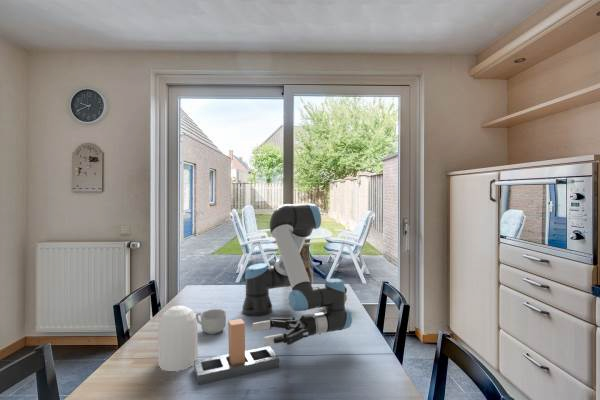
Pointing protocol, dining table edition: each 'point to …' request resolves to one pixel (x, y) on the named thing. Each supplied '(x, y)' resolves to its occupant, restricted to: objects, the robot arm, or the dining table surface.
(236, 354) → the post
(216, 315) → the teacup
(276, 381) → the dining table surface
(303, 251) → the vase
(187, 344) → the container
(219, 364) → the rail
